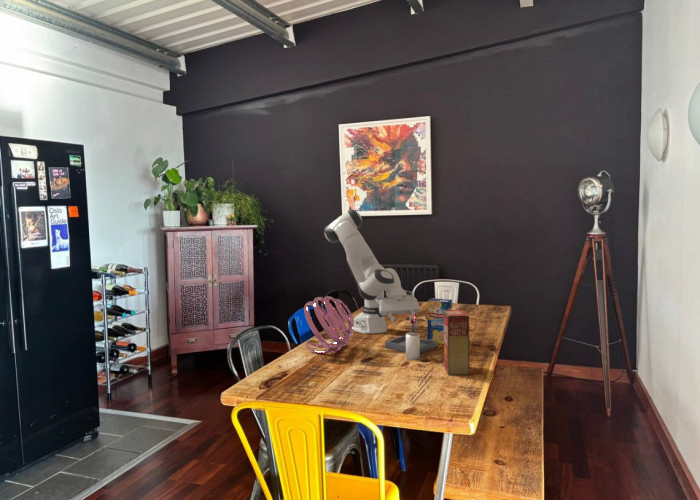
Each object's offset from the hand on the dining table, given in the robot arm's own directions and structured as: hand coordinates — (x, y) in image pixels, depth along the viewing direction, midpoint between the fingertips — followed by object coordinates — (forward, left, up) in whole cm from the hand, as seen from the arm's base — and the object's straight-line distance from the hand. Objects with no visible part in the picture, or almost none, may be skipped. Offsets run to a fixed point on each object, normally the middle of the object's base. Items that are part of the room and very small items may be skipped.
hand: (403, 320), depth 249 cm
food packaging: (+34, -11, -16) cm, 39 cm away
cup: (+9, -6, -15) cm, 19 cm away
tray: (-1, +8, -15) cm, 17 cm away
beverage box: (+5, +26, -16) cm, 31 cm away
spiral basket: (-30, -20, -16) cm, 39 cm away
